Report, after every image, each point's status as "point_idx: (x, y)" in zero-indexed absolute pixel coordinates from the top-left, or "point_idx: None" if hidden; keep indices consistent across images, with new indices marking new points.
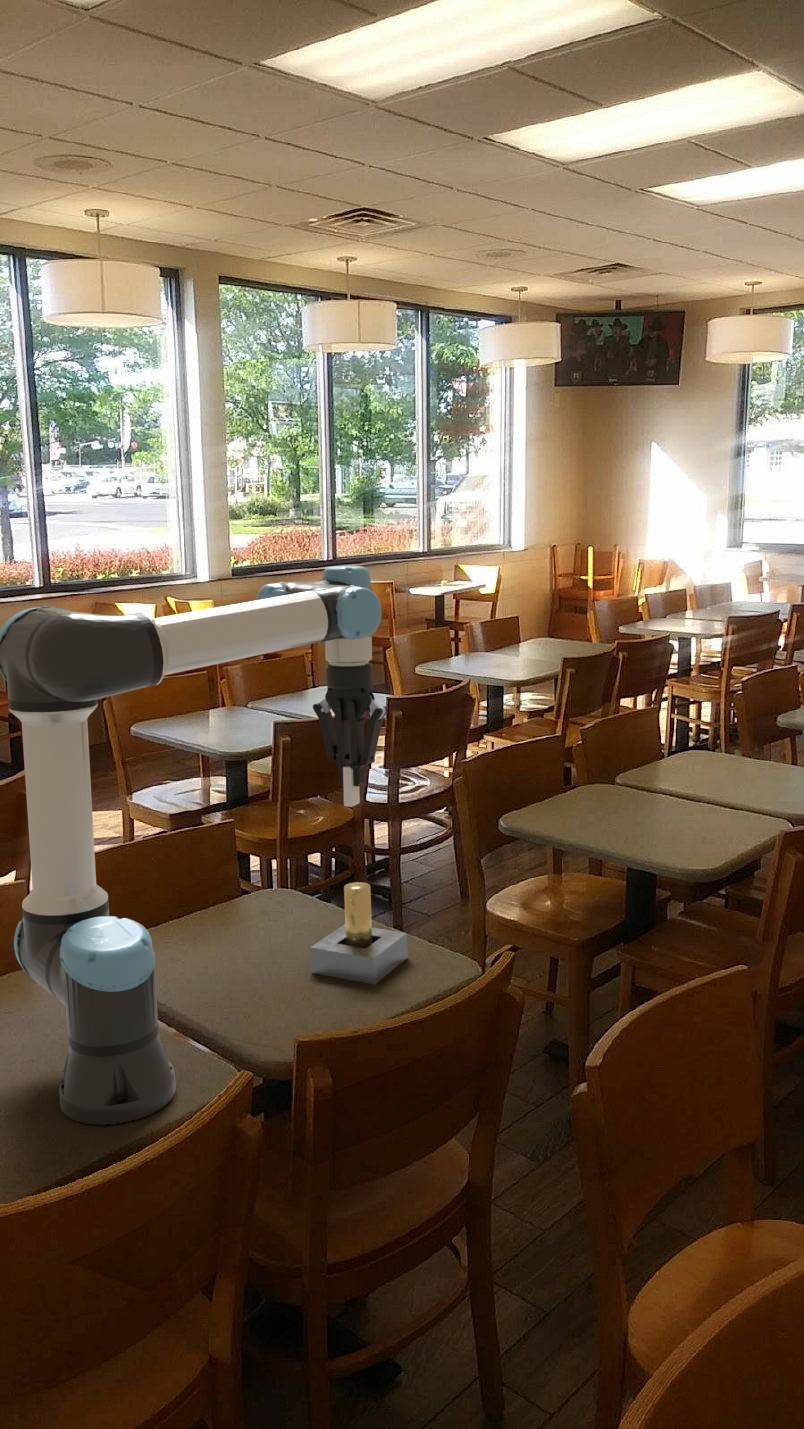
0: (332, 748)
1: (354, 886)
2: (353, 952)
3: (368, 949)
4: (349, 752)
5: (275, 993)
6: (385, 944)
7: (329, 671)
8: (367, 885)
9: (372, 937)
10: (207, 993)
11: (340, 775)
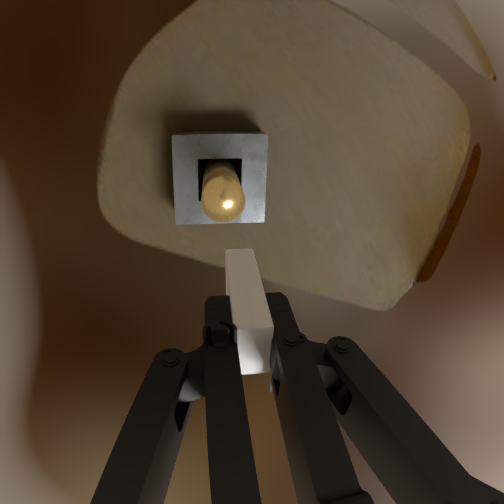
0: (349, 383)
1: (227, 200)
2: (206, 141)
3: (193, 157)
4: (278, 402)
5: (273, 71)
6: (181, 181)
7: None
8: (210, 213)
9: None
10: (342, 51)
11: (286, 312)
